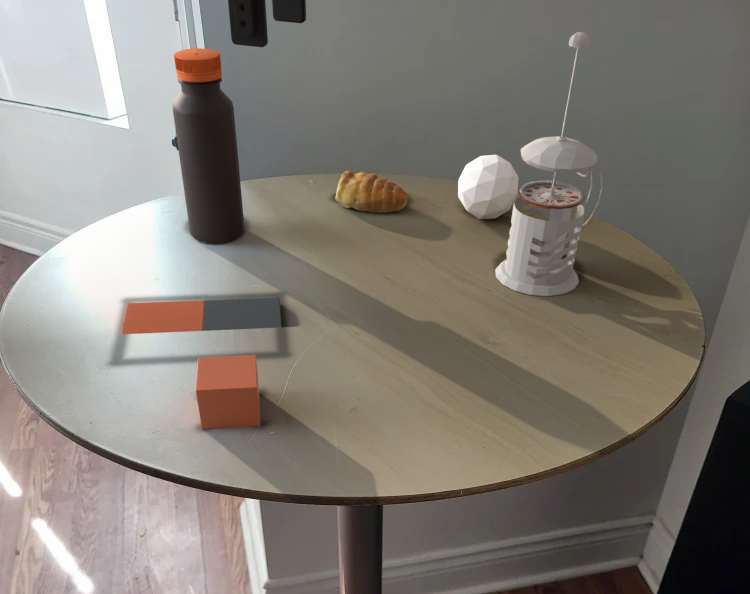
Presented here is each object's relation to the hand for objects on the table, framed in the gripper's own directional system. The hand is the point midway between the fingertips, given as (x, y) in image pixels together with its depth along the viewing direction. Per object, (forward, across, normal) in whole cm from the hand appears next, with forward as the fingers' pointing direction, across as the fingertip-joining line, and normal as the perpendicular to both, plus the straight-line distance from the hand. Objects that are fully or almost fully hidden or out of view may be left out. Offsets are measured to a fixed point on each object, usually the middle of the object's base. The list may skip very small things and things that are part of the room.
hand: (270, 32), depth 71 cm
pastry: (+25, -25, +2) cm, 35 cm away
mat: (+25, +14, -4) cm, 28 cm away
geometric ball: (+25, -26, +18) cm, 41 cm away
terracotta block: (+25, +26, +5) cm, 36 cm away
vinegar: (+25, -9, -13) cm, 30 cm away
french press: (+25, -12, +28) cm, 39 cm away
